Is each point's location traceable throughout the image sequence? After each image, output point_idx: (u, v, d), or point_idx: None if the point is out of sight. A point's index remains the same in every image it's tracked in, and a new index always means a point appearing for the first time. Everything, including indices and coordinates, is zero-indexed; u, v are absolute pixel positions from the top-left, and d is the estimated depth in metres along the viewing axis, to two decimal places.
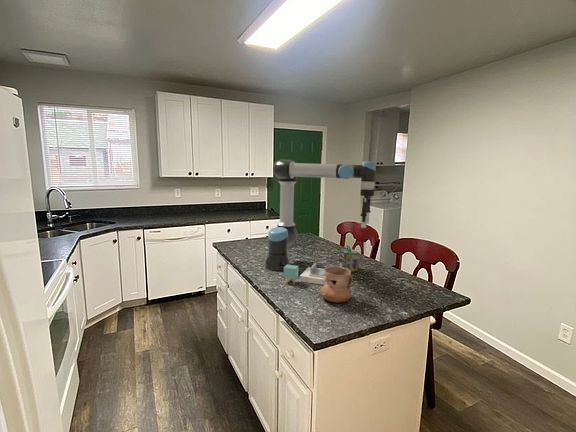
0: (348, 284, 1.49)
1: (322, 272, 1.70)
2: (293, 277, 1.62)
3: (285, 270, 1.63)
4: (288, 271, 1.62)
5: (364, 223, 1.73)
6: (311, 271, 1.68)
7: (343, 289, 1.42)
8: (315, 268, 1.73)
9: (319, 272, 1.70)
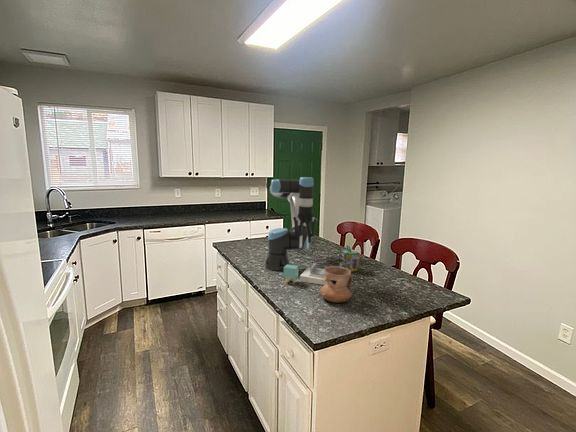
0: (348, 284, 1.49)
1: (322, 272, 1.70)
2: (293, 277, 1.62)
3: (285, 270, 1.63)
4: (288, 271, 1.62)
5: None
6: (311, 271, 1.68)
7: (343, 289, 1.42)
8: (315, 268, 1.73)
9: (319, 272, 1.70)
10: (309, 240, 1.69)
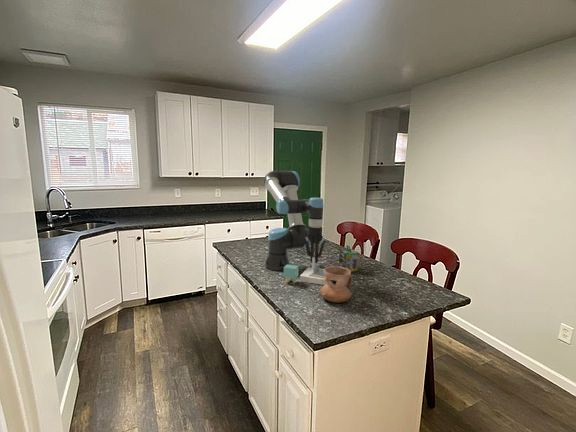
0: (348, 284, 1.49)
1: None
2: (293, 277, 1.62)
3: (285, 270, 1.63)
4: (288, 271, 1.62)
5: None
6: (314, 271, 1.67)
7: (343, 289, 1.42)
8: (318, 268, 1.73)
9: (322, 272, 1.69)
10: (316, 260, 1.69)
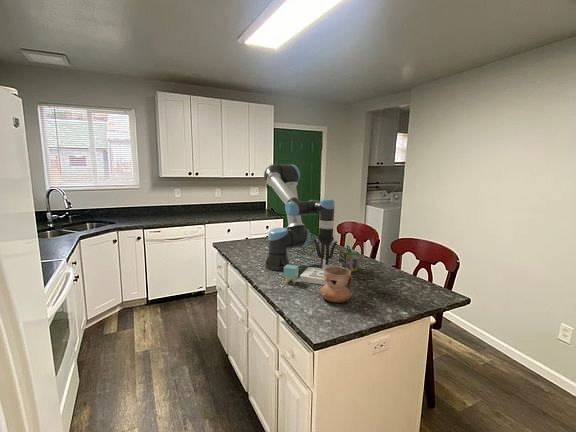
0: (348, 284, 1.49)
1: None
2: (293, 277, 1.62)
3: (285, 270, 1.63)
4: (288, 271, 1.62)
5: None
6: None
7: (343, 289, 1.42)
8: None
9: None
10: (326, 262, 1.68)
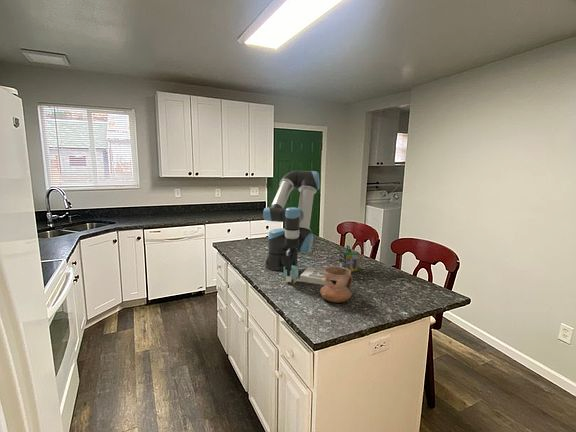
0: (348, 284, 1.49)
1: None
2: (293, 277, 1.62)
3: (285, 270, 1.63)
4: None
5: (289, 277, 1.62)
6: None
7: (343, 289, 1.42)
8: None
9: None
10: None
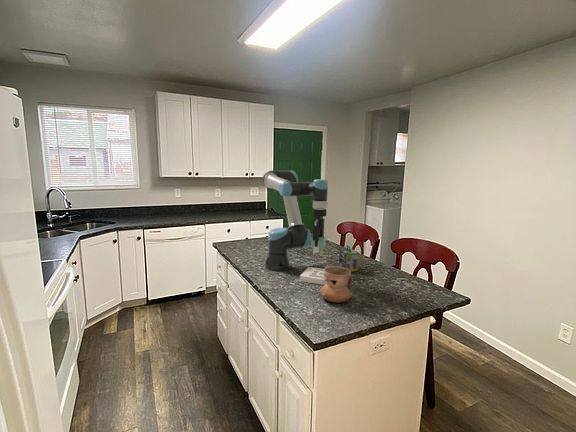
0: (348, 284, 1.49)
1: None
2: (321, 248, 1.65)
3: (313, 241, 1.66)
4: None
5: (317, 248, 1.65)
6: None
7: (343, 289, 1.42)
8: None
9: None
10: None
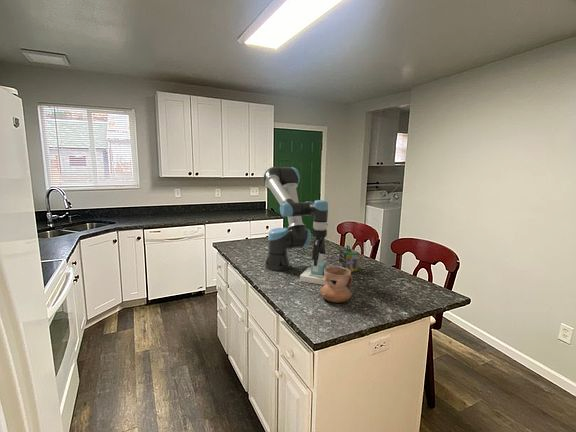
0: (348, 284, 1.49)
1: None
2: (320, 274, 1.68)
3: (312, 267, 1.69)
4: None
5: (316, 267, 1.64)
6: None
7: (343, 289, 1.42)
8: None
9: None
10: None
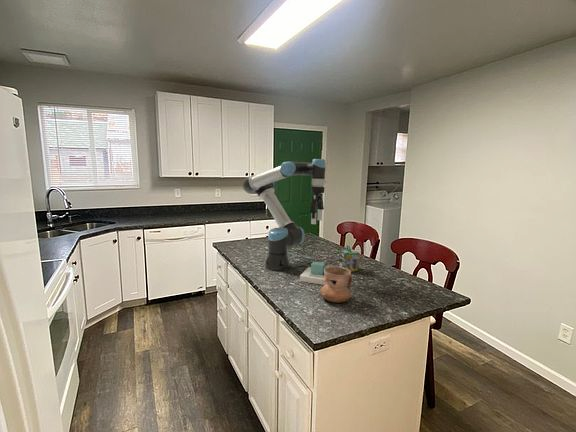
0: (348, 284, 1.49)
1: None
2: (320, 274, 1.68)
3: (312, 267, 1.69)
4: (315, 267, 1.68)
5: (314, 220, 1.76)
6: None
7: (343, 289, 1.42)
8: None
9: None
10: None
